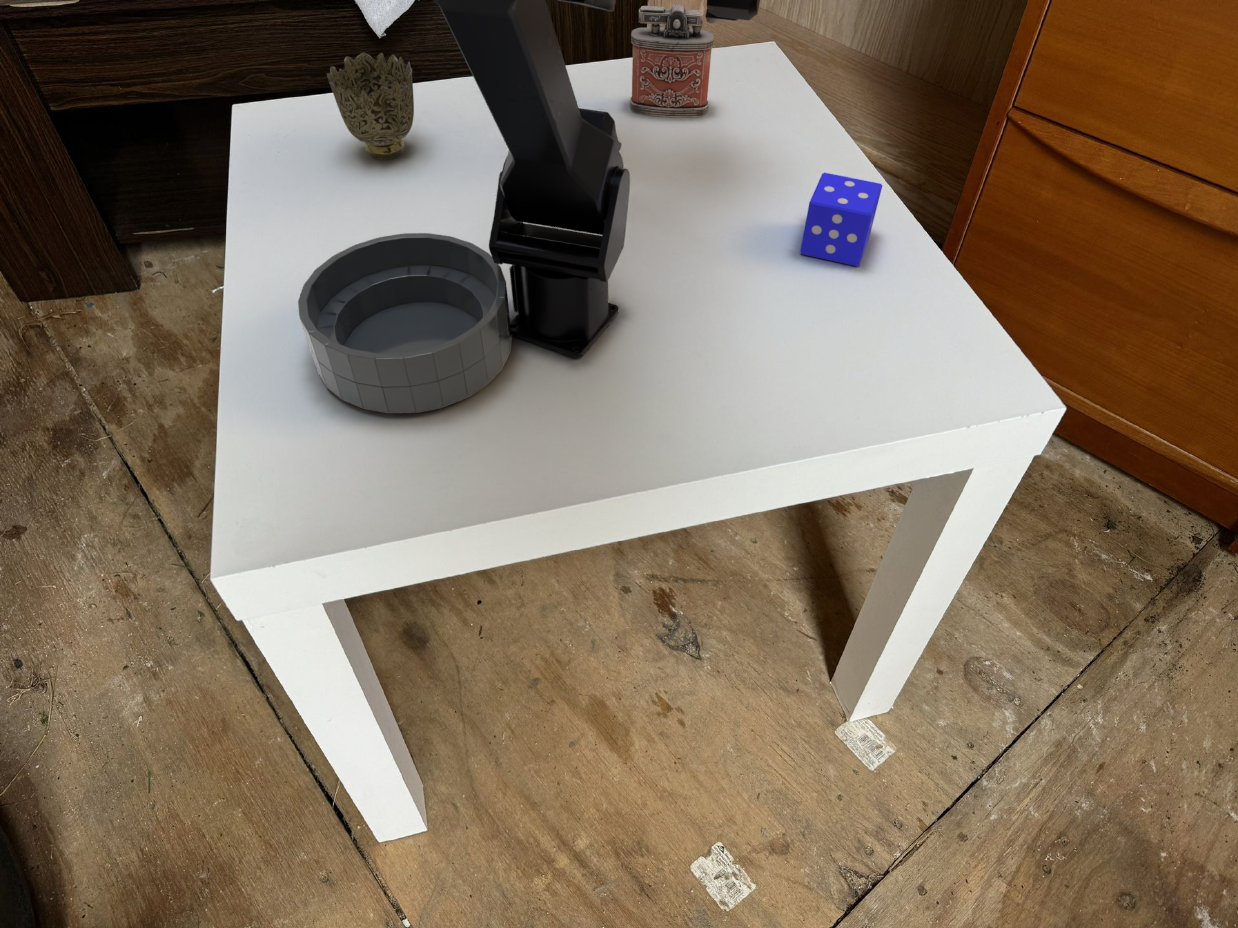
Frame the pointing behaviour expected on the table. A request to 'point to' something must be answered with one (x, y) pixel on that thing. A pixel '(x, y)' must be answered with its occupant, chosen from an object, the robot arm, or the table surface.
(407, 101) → the cup
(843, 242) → the die
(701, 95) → the lighter
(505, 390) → the table surface
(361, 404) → the bowl
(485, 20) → the robot arm
